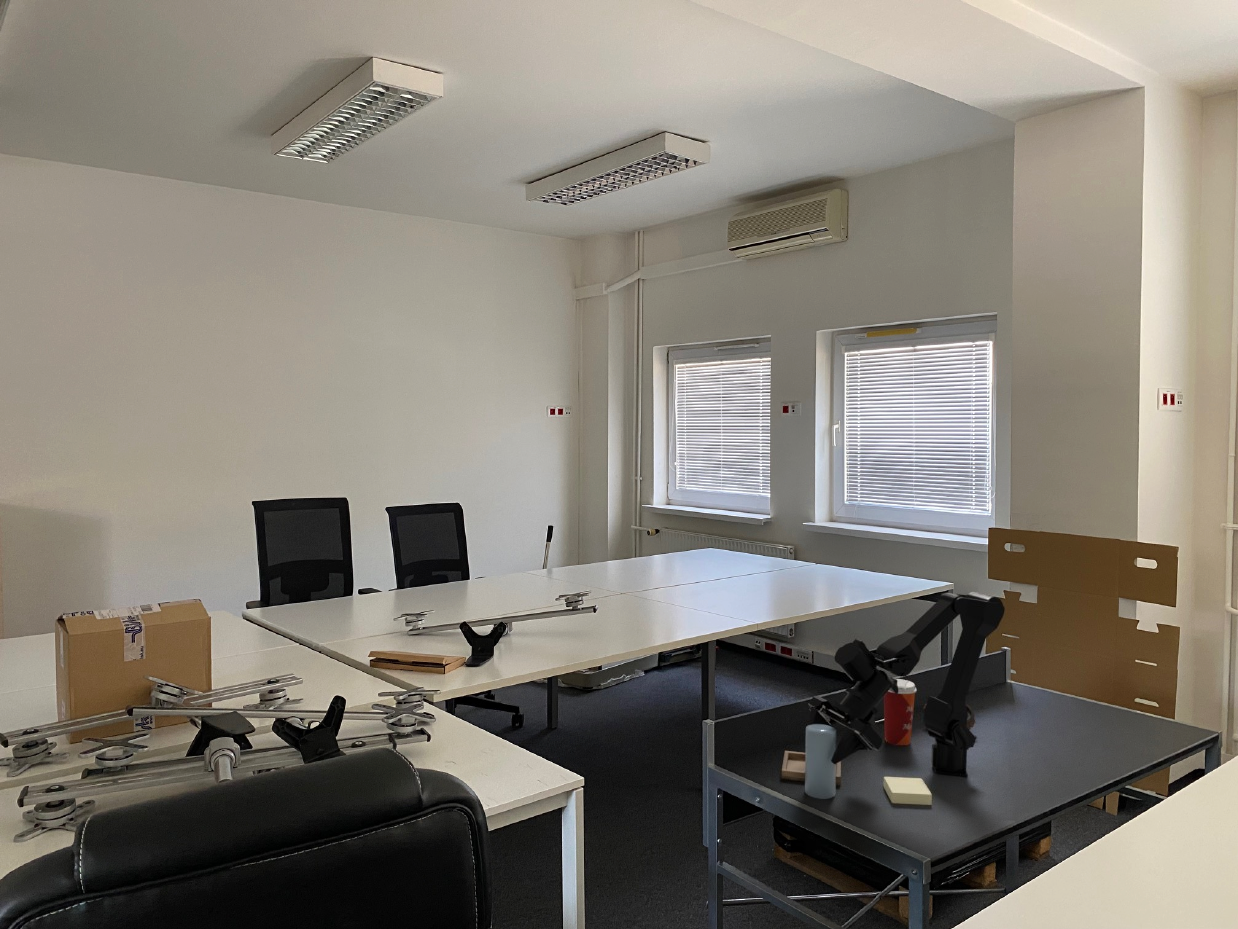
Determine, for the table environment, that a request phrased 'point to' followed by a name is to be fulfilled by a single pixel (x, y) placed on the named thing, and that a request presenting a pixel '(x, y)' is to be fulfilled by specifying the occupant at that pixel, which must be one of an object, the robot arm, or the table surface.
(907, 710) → the paper cup
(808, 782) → the pale blue cylinder
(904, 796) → the sticky note pad
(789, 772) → the tray
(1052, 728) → the table surface
